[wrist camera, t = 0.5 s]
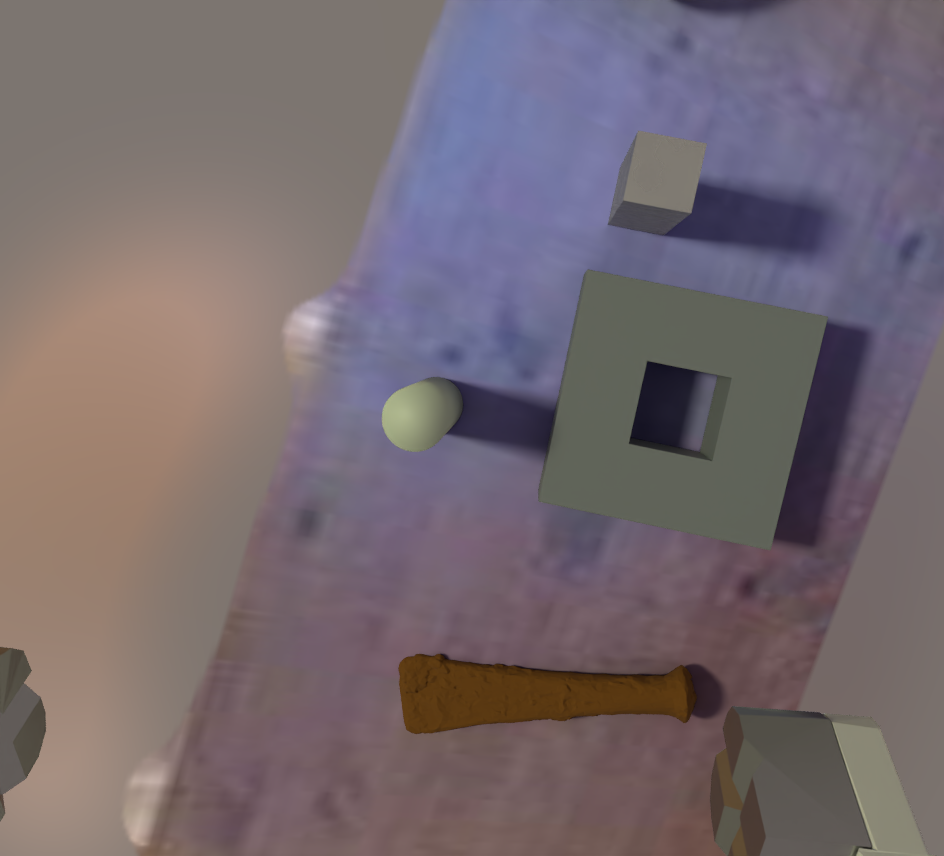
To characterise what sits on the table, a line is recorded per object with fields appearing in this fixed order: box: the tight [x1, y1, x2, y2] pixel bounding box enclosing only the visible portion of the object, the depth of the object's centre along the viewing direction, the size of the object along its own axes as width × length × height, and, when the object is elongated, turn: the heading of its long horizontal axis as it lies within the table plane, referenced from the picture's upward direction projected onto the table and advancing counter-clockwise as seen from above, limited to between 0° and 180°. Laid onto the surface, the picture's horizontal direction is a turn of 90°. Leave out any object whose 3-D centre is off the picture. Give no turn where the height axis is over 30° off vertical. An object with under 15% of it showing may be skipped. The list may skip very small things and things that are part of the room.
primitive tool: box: [398, 654, 697, 734], centre depth 57 cm, size 19×6×4 cm, turn 96°
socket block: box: [538, 270, 828, 550], centre depth 54 cm, size 14×14×4 cm
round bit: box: [382, 377, 463, 452], centre depth 52 cm, size 4×4×10 cm
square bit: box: [608, 131, 707, 235], centre depth 49 cm, size 4×4×10 cm
